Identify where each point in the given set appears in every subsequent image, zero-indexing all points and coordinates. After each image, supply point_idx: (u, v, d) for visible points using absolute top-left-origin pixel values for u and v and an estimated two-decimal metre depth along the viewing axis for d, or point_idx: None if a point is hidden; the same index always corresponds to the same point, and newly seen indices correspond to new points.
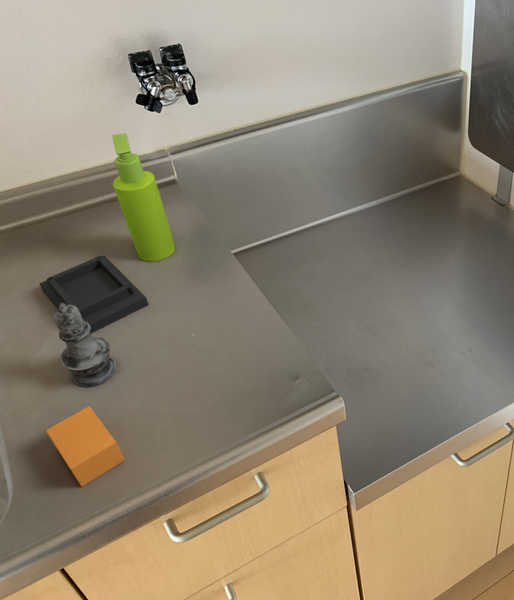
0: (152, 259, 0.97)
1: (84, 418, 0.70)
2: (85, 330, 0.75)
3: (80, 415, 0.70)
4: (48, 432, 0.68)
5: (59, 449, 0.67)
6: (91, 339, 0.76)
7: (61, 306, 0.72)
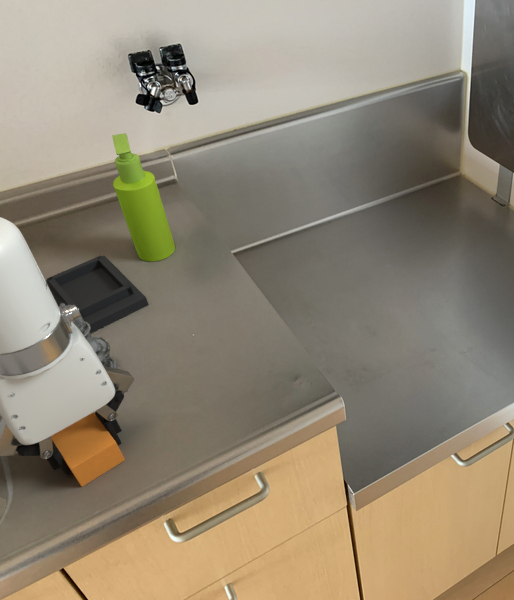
0: (152, 259, 0.97)
1: (84, 418, 0.70)
2: (85, 330, 0.75)
3: None
4: None
5: (59, 449, 0.67)
6: (91, 339, 0.76)
7: (61, 306, 0.72)
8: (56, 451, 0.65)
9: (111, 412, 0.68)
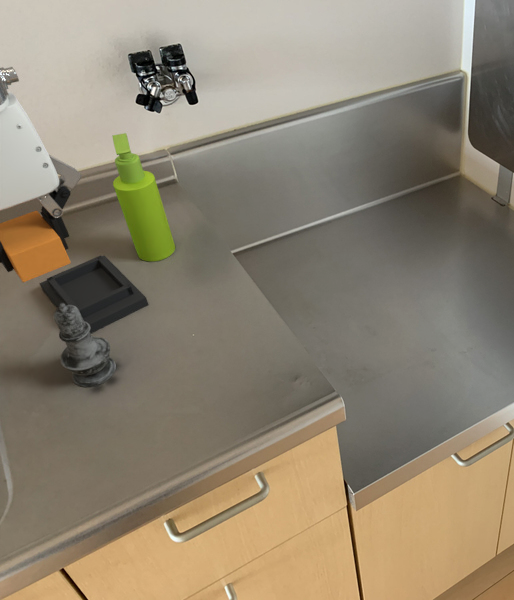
0: (152, 259, 0.97)
1: (30, 219, 0.67)
2: (85, 330, 0.75)
3: (26, 217, 0.67)
4: None
5: None
6: (91, 339, 0.76)
7: (61, 306, 0.72)
8: None
9: (56, 207, 0.65)
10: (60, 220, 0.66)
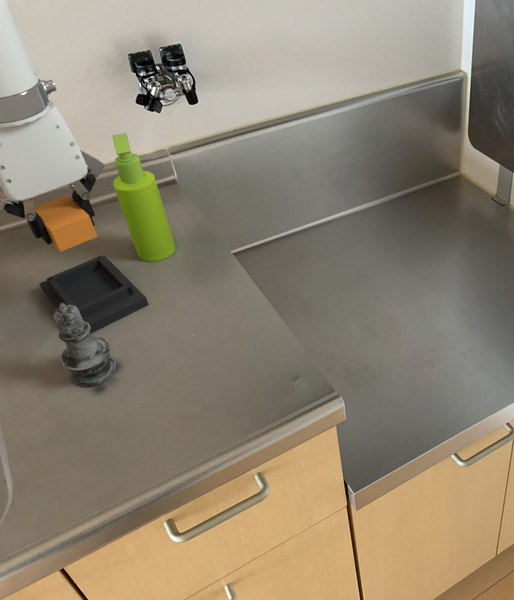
0: (152, 259, 0.97)
1: (63, 201, 0.83)
2: (85, 330, 0.75)
3: (60, 200, 0.83)
4: None
5: None
6: (91, 339, 0.76)
7: (61, 306, 0.72)
8: (38, 217, 0.78)
9: (85, 191, 0.81)
10: (88, 202, 0.82)
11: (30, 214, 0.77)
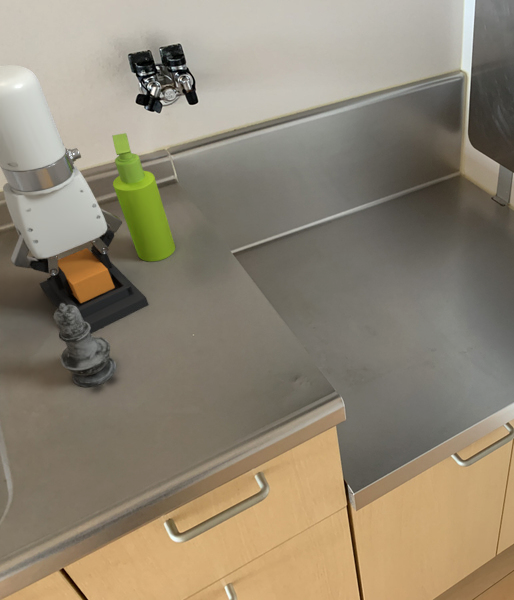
0: (152, 259, 0.97)
1: (83, 255, 0.88)
2: (85, 330, 0.75)
3: (80, 253, 0.89)
4: None
5: None
6: (91, 339, 0.76)
7: (61, 306, 0.72)
8: (61, 271, 0.84)
9: (104, 246, 0.86)
10: (106, 255, 0.88)
11: (53, 269, 0.83)
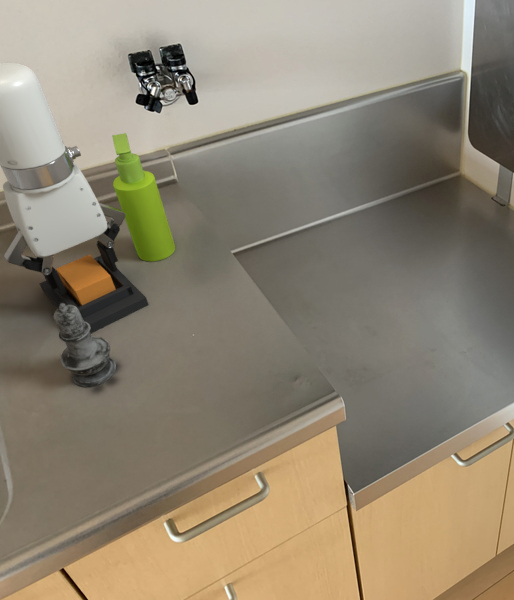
0: (152, 259, 0.97)
1: (85, 261, 0.89)
2: (85, 330, 0.75)
3: (82, 260, 0.89)
4: (57, 269, 0.88)
5: (66, 279, 0.86)
6: (91, 339, 0.76)
7: (61, 306, 0.72)
8: (54, 271, 0.83)
9: (109, 240, 0.86)
10: (112, 249, 0.88)
11: (46, 268, 0.82)
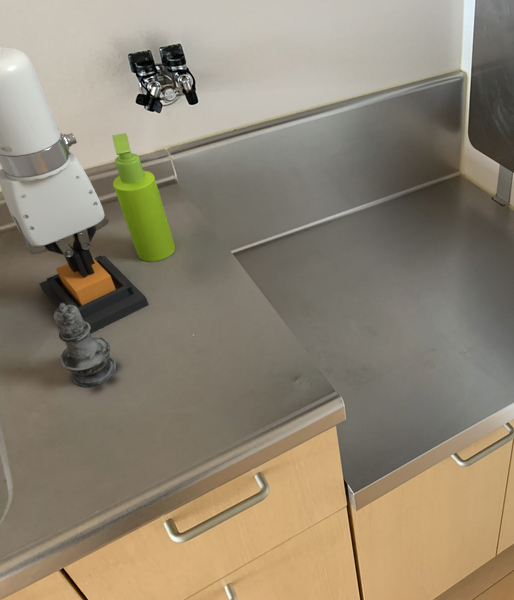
0: (152, 259, 0.97)
1: None
2: (85, 330, 0.75)
3: None
4: (58, 269, 0.88)
5: (66, 279, 0.86)
6: (91, 339, 0.76)
7: (61, 306, 0.72)
8: (76, 253, 0.84)
9: (85, 242, 0.84)
10: (88, 251, 0.86)
11: (69, 251, 0.83)
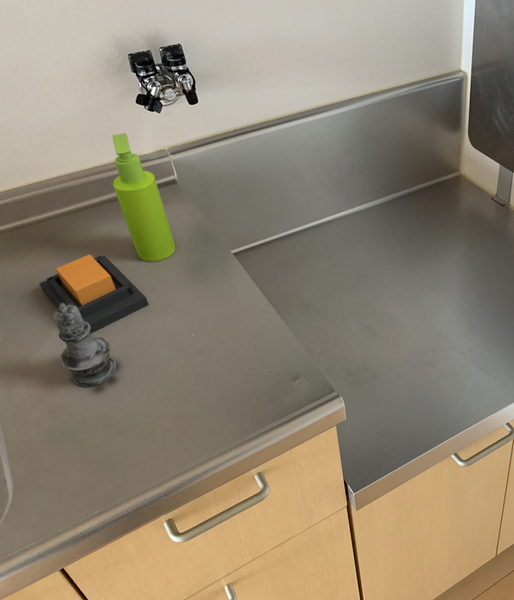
0: (152, 259, 0.97)
1: (85, 261, 0.89)
2: (85, 330, 0.75)
3: (82, 260, 0.89)
4: (57, 269, 0.88)
5: (66, 279, 0.86)
6: (91, 339, 0.76)
7: (61, 306, 0.72)
8: None
9: None
10: None
11: None
